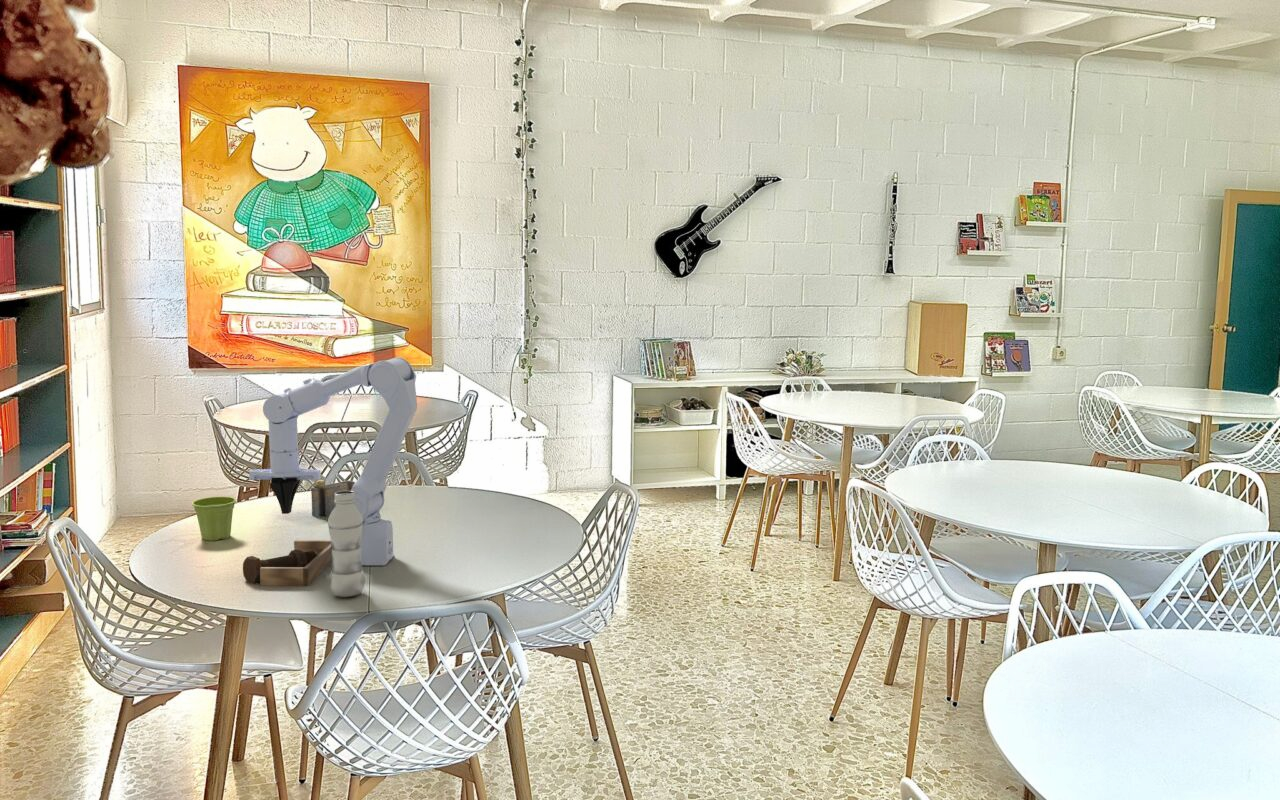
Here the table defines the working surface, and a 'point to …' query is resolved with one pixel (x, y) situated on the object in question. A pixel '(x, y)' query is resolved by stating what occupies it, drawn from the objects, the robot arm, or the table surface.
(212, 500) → the plant pot
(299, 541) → the frame
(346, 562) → the plastic bottle
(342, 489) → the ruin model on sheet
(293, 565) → the bolt
